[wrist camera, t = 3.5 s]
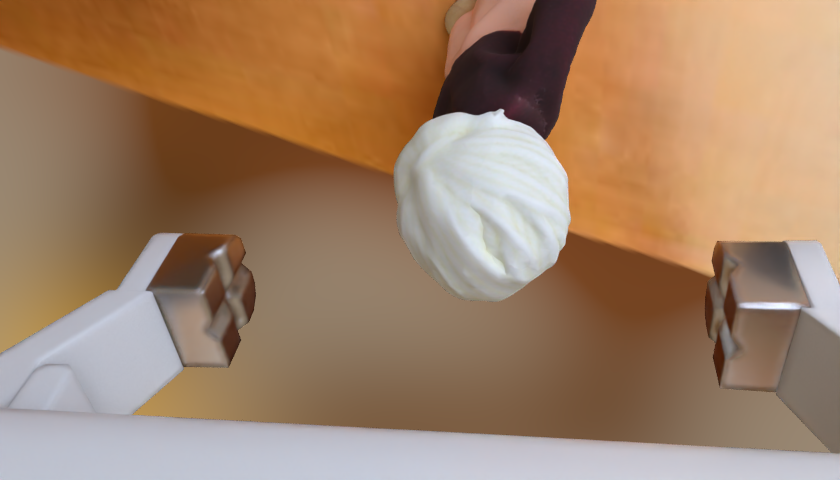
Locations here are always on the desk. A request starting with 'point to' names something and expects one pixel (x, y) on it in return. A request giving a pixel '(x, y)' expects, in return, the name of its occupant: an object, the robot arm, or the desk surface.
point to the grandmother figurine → (492, 149)
